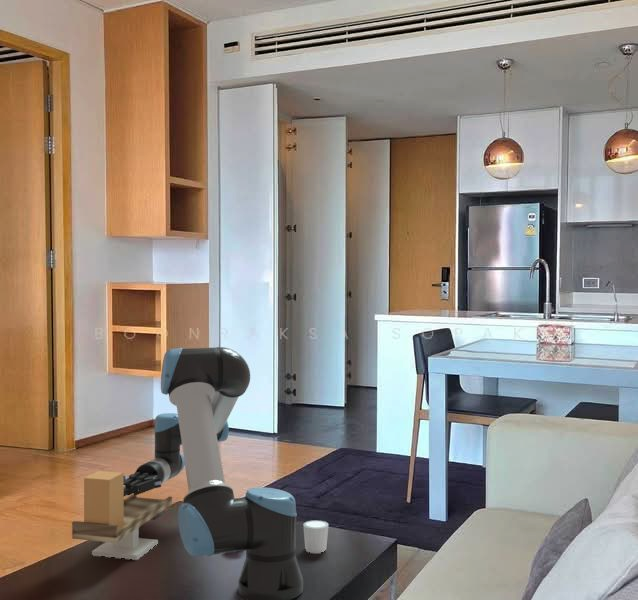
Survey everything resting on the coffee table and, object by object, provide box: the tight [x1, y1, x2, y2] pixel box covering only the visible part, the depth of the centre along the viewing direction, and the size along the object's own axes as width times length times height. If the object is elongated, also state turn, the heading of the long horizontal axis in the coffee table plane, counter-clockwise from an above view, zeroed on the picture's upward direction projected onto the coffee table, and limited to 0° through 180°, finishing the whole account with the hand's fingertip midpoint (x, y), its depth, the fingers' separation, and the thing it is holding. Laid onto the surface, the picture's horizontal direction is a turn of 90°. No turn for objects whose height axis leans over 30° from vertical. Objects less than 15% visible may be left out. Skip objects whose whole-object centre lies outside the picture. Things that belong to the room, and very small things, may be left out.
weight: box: [83, 470, 125, 531], centre depth 183 cm, size 7×7×14 cm
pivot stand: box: [91, 527, 159, 561], centre depth 195 cm, size 12×13×6 cm
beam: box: [71, 493, 173, 543], centre depth 194 cm, size 32×12×7 cm, turn 167°
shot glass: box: [302, 520, 329, 554], centre depth 196 cm, size 7×7×7 cm
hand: (110, 497), depth 187 cm, fingers closed
